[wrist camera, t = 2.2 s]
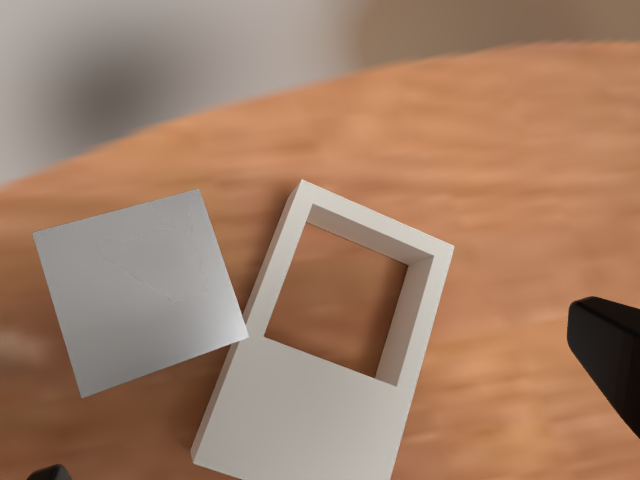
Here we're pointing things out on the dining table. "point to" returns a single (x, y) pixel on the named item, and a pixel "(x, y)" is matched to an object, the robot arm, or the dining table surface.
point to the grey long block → (139, 290)
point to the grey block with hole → (322, 363)
